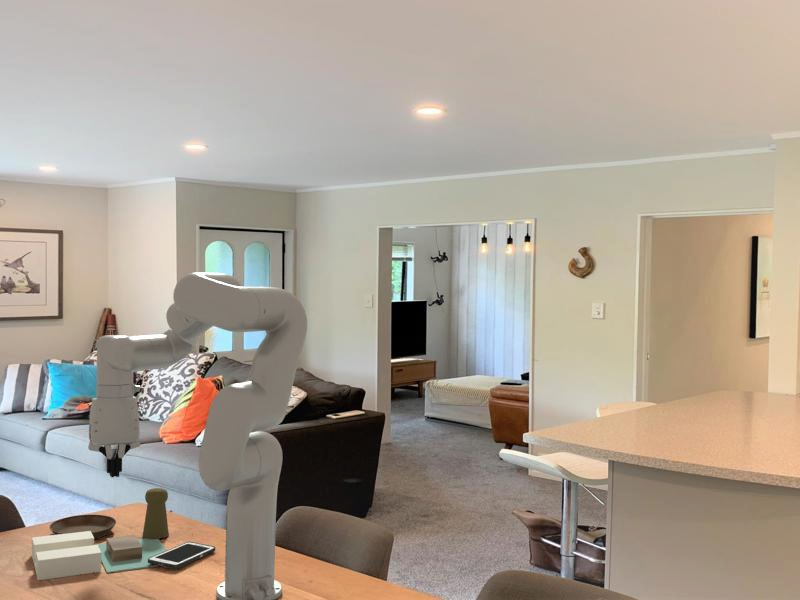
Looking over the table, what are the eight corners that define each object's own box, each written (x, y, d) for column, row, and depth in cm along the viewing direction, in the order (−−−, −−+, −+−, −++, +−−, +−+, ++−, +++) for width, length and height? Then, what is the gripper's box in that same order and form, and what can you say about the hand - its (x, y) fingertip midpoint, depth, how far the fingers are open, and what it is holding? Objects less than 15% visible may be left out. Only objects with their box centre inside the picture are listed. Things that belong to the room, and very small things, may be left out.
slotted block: (101, 571, 167) (101, 552, 167) (37, 580, 162) (38, 560, 162) (90, 548, 181) (90, 530, 181) (31, 555, 176) (32, 537, 176)
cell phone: (145, 563, 171) (145, 559, 171) (188, 545, 185) (189, 541, 185) (175, 570, 168) (175, 565, 168) (217, 551, 182) (217, 546, 182)
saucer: (93, 547, 183) (93, 535, 183) (35, 541, 186) (35, 529, 186) (128, 528, 198) (128, 517, 198) (73, 523, 201) (74, 512, 201)
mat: (175, 563, 173) (175, 562, 173) (107, 573, 166) (107, 571, 166) (157, 538, 190) (157, 537, 190) (93, 546, 183) (94, 544, 183)
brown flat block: (113, 550, 172) (113, 562, 172) (142, 546, 175) (142, 558, 175) (106, 538, 180) (106, 549, 180) (134, 534, 183) (134, 545, 183)
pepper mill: (140, 533, 193) (141, 487, 193) (166, 531, 195) (167, 485, 196) (144, 539, 187) (145, 491, 188) (170, 537, 190) (171, 490, 190)
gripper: (146, 388, 183) (146, 469, 183) (76, 391, 176) (75, 475, 176) (153, 392, 176) (152, 476, 176) (80, 395, 169) (79, 483, 169)
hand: (114, 475), depth 176 cm, fingers closed
